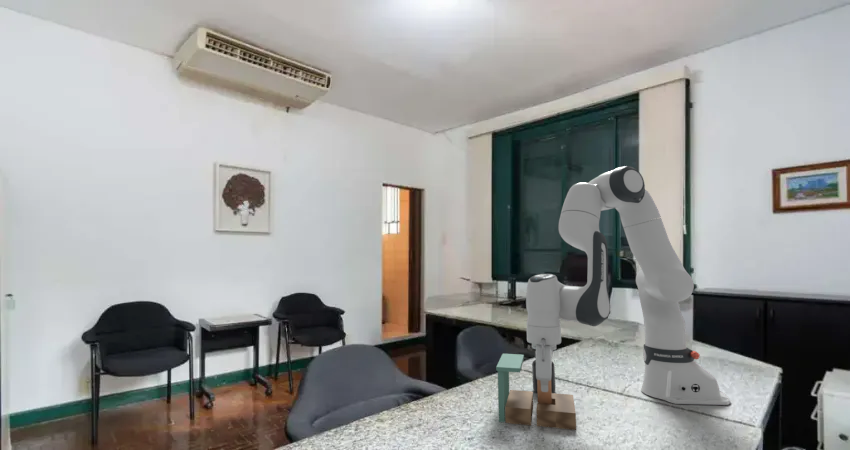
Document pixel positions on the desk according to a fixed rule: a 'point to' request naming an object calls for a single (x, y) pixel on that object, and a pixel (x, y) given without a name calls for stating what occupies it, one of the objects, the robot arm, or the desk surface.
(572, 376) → the desk surface
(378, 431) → the desk surface
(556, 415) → the socket block
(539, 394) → the peg
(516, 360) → the teal u-shaped bracket
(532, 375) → the supplement bottle
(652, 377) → the robot arm
